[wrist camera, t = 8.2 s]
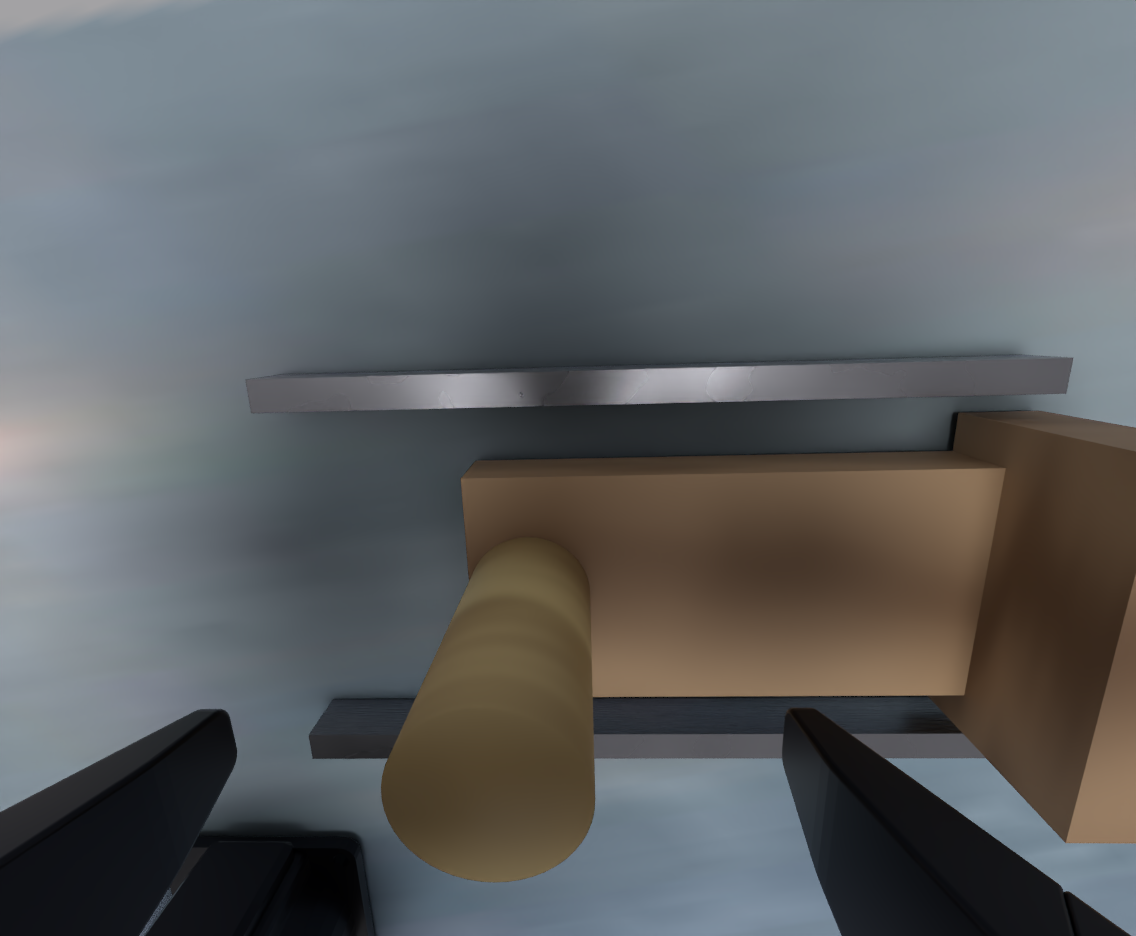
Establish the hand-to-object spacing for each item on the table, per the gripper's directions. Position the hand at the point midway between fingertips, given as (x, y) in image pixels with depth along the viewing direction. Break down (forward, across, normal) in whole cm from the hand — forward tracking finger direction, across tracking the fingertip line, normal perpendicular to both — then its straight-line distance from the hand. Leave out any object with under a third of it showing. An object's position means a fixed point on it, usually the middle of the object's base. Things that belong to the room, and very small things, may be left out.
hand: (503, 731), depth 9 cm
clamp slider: (+7, -6, 0) cm, 9 cm away
